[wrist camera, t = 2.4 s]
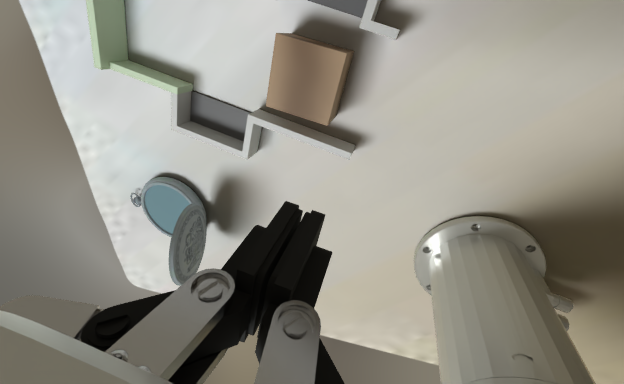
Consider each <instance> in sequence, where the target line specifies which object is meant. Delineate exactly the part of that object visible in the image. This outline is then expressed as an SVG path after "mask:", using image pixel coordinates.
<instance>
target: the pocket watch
mask: <svg viewBox="0 0 624 384" xmlns="http://www.w3.org/2000/svg"><path fill="white" fill-rule="evenodd" d="M132 194H135V193H131V201H132V203H133V204H134V205H135V203H136V204H137V205H139V206H140V205H141V204H142V207H143V210H144V212H145V214H146V216H147V218H148V219H149V220H150V222H151V223H152V224H153V225H154V226H155V227H156V228H157V229H158V230H160V231H161V232H162V233H164V234H166V235H167V236H169V237H172V238H171V243H170V249H169V270H170V275H171V278H172V280H173V282H174V283H175V284H176V285H182V284H184V283H185V282H186V281H187V280H188V279H189V278H191V277H192V276H193V275H195V274H196V272H197V270H198V268H199V265H200V263H201V260H202V257H203V253H204V248H205V242H206V212H205V209H204V206H203V204H202V202H201V200H200V199H199V197H198V196H197V195H196V194H195V193H194V191H193V190H192V189H190V188H189V187H188V186H187V185H185V184H184V183H182V182H180V181H178V180H176V179H173V178H169V177H157V178H153V179H151V180H150V181H148V182H147V183H146V184H145V186H144V188H143V190H142V194H141V197H139V196H138V195H137V194H135V195H136V198H134V199H132ZM137 205H135V206H136V207H139V206H137Z"/></svg>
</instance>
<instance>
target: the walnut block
mask: <svg viewBox="0 0 624 384" xmlns="http://www.w3.org/2000/svg"><path fill="white" fill-rule="evenodd" d="M353 54H354V51H352V50H348V49H344V48H341V47H337V46H334V45H330V44H327V43H323V42H320V41H316V40H313V39H309V38H306V37H302V36H299V35H295V34H291V33H276V37H275V44H274V51H273V58H272V65H271V72H270V79H269V87H268V94H267V101H266V106H267V107H270V108H273V109H276V110H279V111H282V112H286V113H289V114H292V115H295V116H298V117H301V118H304V119H307V120H310V121H313V122H317V123H320V124H323V125H326V126H328V125H329V124H330V122H331V121H332V120H333V119H334V118H335V117H336V115H337V111H338V107H339V104H340V100H341V97H342V93H343V90H344V86H345V82H346V79H347V75H348V72H349V68H350V64H351V61H352V57H353Z"/></svg>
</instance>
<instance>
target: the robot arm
mask: <svg viewBox="0 0 624 384" xmlns="http://www.w3.org/2000/svg"><path fill="white" fill-rule="evenodd" d="M302 212H303V211H302V210H300V209H299V205H296V204H293V203H290V202H287V201H286V202H285V203H284V204H283V206H282V207H281V208H280V210H279V211H278V213H277V214H276V215H275V217H274V218H273V220H272V221H271V222H270V224H269V225H268V227H267V228H264V227H262V226H259V225H256V226H255V227H254V228H253V229H252V230H251V232H250V233H249V234H248V236H247V237H246V238H245V239H244V241H243V242H242V243H241V244H240V246H239V247H238V248H237V250H236V251H235V252H234V253H233V255H232V256H231V257H230V259H229V260H228V261H227V262H226V264H225V265H224V266H223V268H222V269H221V270H220V269H205V270H202V271H200V272H198V273H196V274H195V275H193V276H192V277H191V278H189V279H188V280H187V281H186V282H185V283H184V284H182V285H181V286H180V287H179V288H178V289H177V290H175V291H171V292H167V293H163V294H159V295H155V296H151V297H148V298H144V299H140V300H136V301H132V302H128V303H124V304H120V305H116V306H113V307H110V308H107V309H105V310H104V309H100V307H99V305H94V304H87V303H81V302H74V301H68V300H61V299H56V298H49V297H43V296H24V297H19V298H16V299H14V300H11V301H9V302H7V303H5V304H3V305H2V306H1V307H0V384H203V383H204V382H205V381H206V379H207V378H208V377H209V375H210V374H211V373H212V371H213V370H214V369H215V367H216V366H217V365H218V363H219V362H220V360H221V359H222V358H223V357H224V355H225V353H226V351H227V350H228V348H230V347H232V346H235V345H237V344H238V343H239V341H241V342H245V340H246V338H247V336H248V334H250V335H254V334H255V332H256V330H257V328H258V326H259V324H260V326H259V331H258V336H257V337H258V340H257V345H256V351H255V353H256V356H257V358H258V361H259V368H258V372H257V375H256V379H255V383H254V384H344V382H343V380H342V378H341V376H340V374H339V373H338V371H337V369H336V367H335V365H334V363H333V362H332V360H331V358H330V356H329V354H328V352H327V351H326V349H325V347H324V345H323V343H322V341H321V340H320V329H321V324H320V318H319V316H318V313H317V312H316V311H315V309H314V307H315V304H316V301H317V298H318V295H319V292H320V288H321V285H322V282H323V279H324V276H325V273H326V270H327V267H328V264H329V261H330V258H331V255H332V252H331V251H328V250H325V249H323V248H320V247H317V246H316V245H317V241H318V238H319V235H320V231H321V228H322V225H323V221H324V218H325V214H322V213H319V212H316V211H313V210H312V212H311V213H308V212H306V213H305V215H304V217H303V218H302V220H301V216H302ZM300 221H301V222H300ZM546 266H547V265H546V259H545V255H544V253H543V251H542V249H541V247H540V245H539V244H538V243H537V241H536V240H535V238H534V237H533V236H532V235H531V234H529V233H528V232H527V231H526V230H525V229H523V228H521V227H520V226H518V225H516V224H514V223H512V222H509V221H506V220H504V219H499V218H494V217H485V216H472V217H463V218H458V219H454V220H451V221H448V222H446V223H443V224H441V225H439V226H437V227H436V228H434V229H432V230H431V231H430V232H429V233H428V234H427V235H425V236H424V237H423V239H422V240H421V241H420V243H419V244H418V246H417V249H416V251H415V256H414V270H415V274H416V277H417V279H418V281H419V283H420V285H421V286H422V287H423V289H424V290H425V291H426V292H428V293H429V294H430V295H431V296H432V304H433V314H434V323H435V332H436V342H437V351H438V361H439V370H440V379H441V384H595V382H594V380H593V378H592V376H591V374H590V373H589V371H588V369H587V367H586V365H585V364H584V362H583V360H582V358H581V356H580V355H579V353H578V351H577V349H576V347H575V345H574V344H573V342H572V340H571V338H570V336H569V335H568V333H567V331H568V329H569V322H568V319H567V318H566V317H564V316H562V315H559V314H557V313H556V311H555V309H558V310H560V311H563V312H566V313H568V312H570V311H571V310H572V309H573V302H572V301H571V300H570V299H568V298H565V297H563V296H560V295H558V294H553V293H551V291H550V290H549V288H548V286H547V284H546V283H545V281H544V276H545V273H546ZM554 308H555V309H554Z"/></svg>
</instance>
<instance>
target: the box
mask: <svg viewBox="0 0 624 384" xmlns="http://www.w3.org/2000/svg"><path fill="white" fill-rule="evenodd" d="M308 1H311V2H314V3H318V4H321V5H324V6H327V7H330V8H333V9H336V10H339V11H342V12H345V13H348V14H351V15H354V16H357V17H360V18H362V20H361V23H360V26H359V28H361V29H364V30H367V31H370V32H374V33H377V34H380V35H383V36H386V37H389V38H392V39H395V40H396V39H397V37H398V34H399V32H400V30H399V29H396V28H393V27H389V26H386V25H383V24H380V23H377V22H374V20H375V17H376V14H377V11H378V8H379V5H380V2H381V0H308ZM86 5H87V13H88V20H89V28H90V35H91V43H92V51H93V58H94V66H95V68H98V69H101V70H103V69H112V70H114V71H117V72H119V73H122V74H125V75H127V76H130V77H133V78H135V79H138V80H140V81H143V82H146V83H148V84H151V85H154V86H156V87H159V88H161V89H164V90H167V91H169V92H171V130H173V131H176V132H178V133H181V134H184V135H186V136H189V137H191V138H194V139H196V140H199V141H201V142H204V143H206V144H209V145H211V146H214V147H216V148H219V149H221V150H224V151H227V152H229V153H232V154H234V155H237V156H239V157H242V158H244V159H249V158H250V157H251V156H253V155H254V154H255V153H256V152H257V151H258V145H259V140H260V134H261V129H262V127H264V128H267V129H269V130H272V131H275V132H277V133H280V134H282V135H285V136H288V137H290V138H293V139H296V140H298V141H301V142H303V143H306V144H309V145H311V146H314V147H317V148H319V149H322V150H324V151H327V152H330V153H332V154H335V155H338V156H340V157H343V158H345V159H348V160H350V157H351V155H352V153H353V151H354V148H355V145H354V144H351V143H348V142H346V141H343V140H340V139H338V138H335V137H332V136H330V135H327V134H324V133H322V132H319V131H316V130H314V129H311V128H308V127H306V126H303V125H300V124H298V123H295V122H292V121H289V120H287V119H284V118H281V117H279V116H276V115H273V114H271V113H268V112H265V111H263V110H260V109H258V110H256V111H254V112H252V113H250V112H248V111H245V110H242V109H240V108H237V107H235V106H232V105H229V104H227V103H224V102H221V101H219V100H216V99H213V98H211V97H208V96H205V95H203V94H200V93H197V92H195V91H192V90H193V84H191V83H188V82H185V81H183V80H180V79H177V78H175V77H172V76H169V75H167V74H164V73H161V72H159V71H156V70H153V69H150V68H148V67H145V66H142V65H140V64H137V63H134V62H132V61H129V60H128V48H127V33H126V19H125V5H124V0H86Z"/></svg>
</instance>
